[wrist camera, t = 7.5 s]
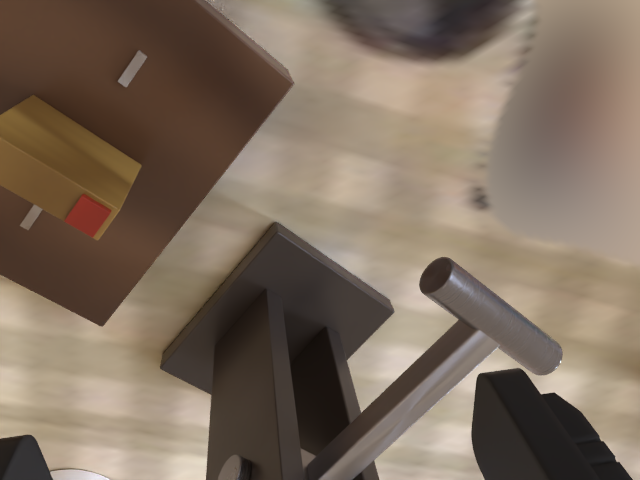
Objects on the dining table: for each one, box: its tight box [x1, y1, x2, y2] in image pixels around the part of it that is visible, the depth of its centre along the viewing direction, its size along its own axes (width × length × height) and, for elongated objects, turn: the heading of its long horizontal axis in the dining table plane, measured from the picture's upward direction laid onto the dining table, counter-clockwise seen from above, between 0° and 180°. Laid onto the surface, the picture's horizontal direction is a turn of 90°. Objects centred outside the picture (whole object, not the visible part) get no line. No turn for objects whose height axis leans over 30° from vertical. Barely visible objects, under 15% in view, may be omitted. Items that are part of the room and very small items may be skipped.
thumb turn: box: [0, 95, 142, 240], centre depth 19 cm, size 4×1×5 cm, turn 50°
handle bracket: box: [160, 222, 394, 480], centre depth 24 cm, size 10×8×13 cm
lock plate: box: [0, 0, 294, 326], centre depth 22 cm, size 14×10×3 cm
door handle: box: [301, 257, 562, 480], centre depth 19 cm, size 12×6×2 cm, turn 140°
